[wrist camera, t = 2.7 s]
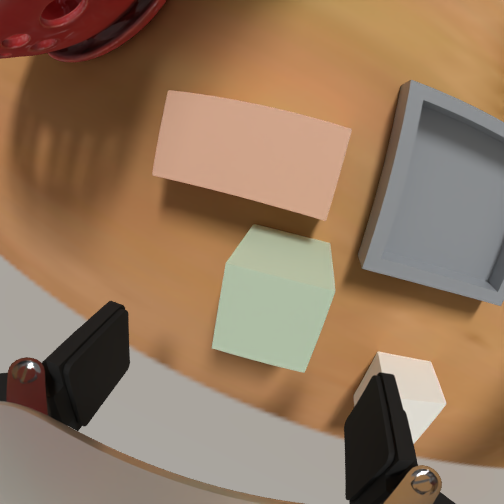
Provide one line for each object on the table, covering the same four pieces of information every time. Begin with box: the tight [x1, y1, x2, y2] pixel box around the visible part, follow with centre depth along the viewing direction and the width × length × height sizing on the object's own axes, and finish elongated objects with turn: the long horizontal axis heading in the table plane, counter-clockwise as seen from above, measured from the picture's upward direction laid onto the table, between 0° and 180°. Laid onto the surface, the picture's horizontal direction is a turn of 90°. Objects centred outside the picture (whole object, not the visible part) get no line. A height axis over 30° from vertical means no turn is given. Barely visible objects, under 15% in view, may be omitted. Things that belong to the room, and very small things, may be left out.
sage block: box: [212, 224, 335, 373], centre depth 16 cm, size 4×4×6 cm
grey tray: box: [358, 80, 504, 306], centre depth 14 cm, size 10×10×2 cm
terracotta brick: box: [152, 90, 352, 221], centre depth 16 cm, size 9×4×3 cm, turn 77°
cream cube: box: [353, 352, 446, 444], centre depth 18 cm, size 4×4×4 cm
